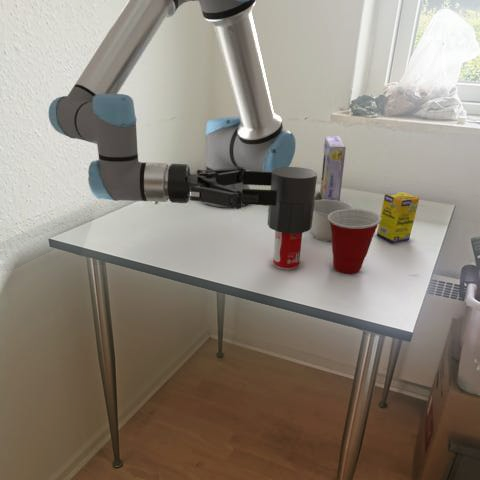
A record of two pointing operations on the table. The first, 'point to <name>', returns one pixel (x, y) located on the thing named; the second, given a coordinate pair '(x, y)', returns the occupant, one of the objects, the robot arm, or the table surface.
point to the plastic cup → (351, 237)
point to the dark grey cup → (292, 200)
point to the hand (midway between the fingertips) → (275, 187)
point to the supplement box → (397, 217)
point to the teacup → (325, 217)
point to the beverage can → (287, 250)
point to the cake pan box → (332, 168)
